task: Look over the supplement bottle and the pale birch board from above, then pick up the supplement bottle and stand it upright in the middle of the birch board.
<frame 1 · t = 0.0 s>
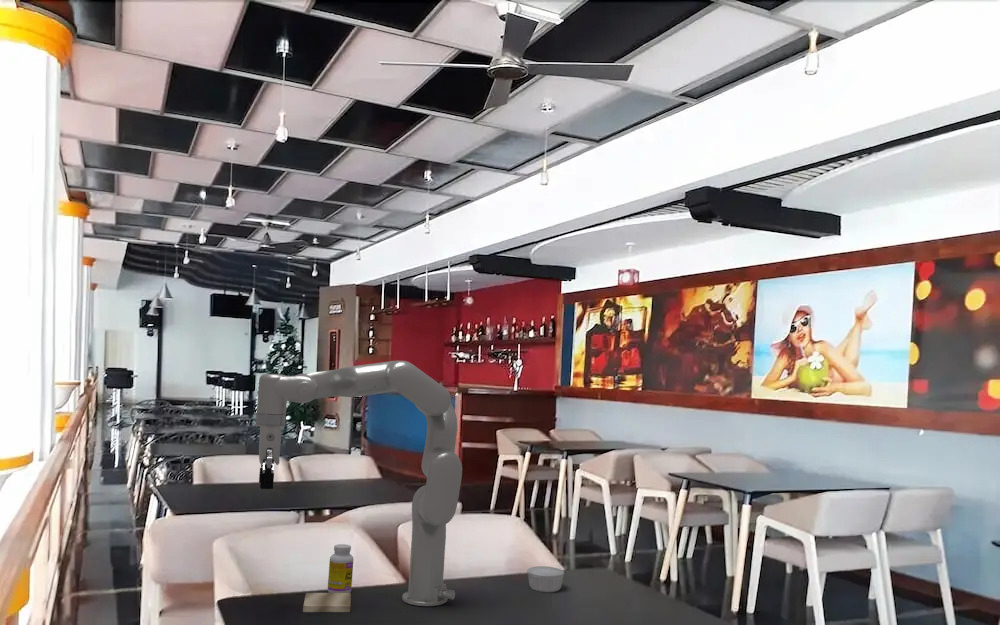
hand: (265, 485, 210), 31 cm above the table, tool pointing down, fingers open, 9 cm apart
ramekin: (544, 589, 241), on the table
supplement bottle: (339, 592, 225), on the table
birch board: (327, 605, 212), on the table
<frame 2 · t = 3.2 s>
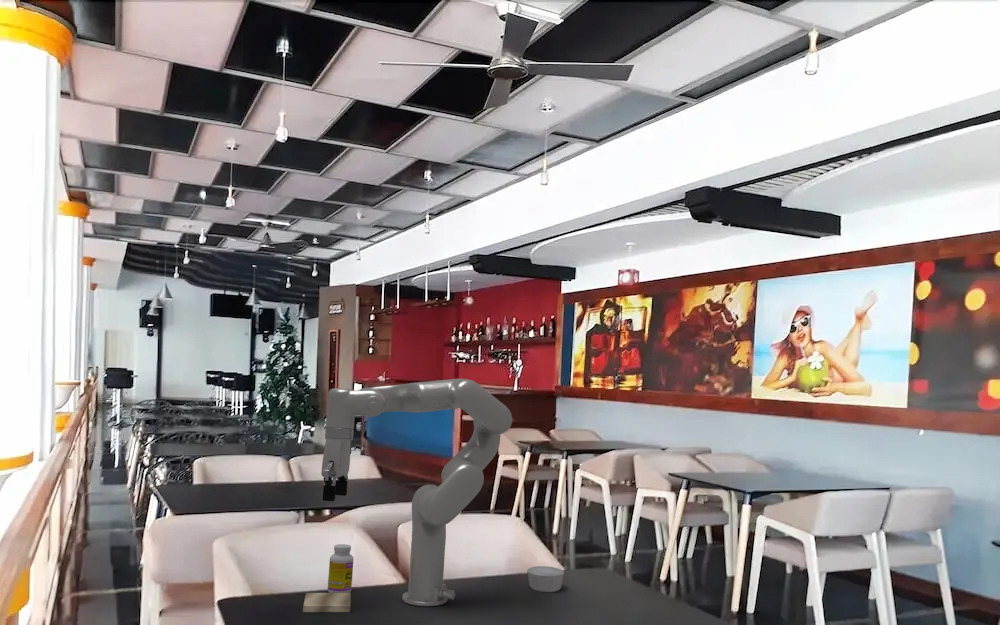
hand: (334, 497, 214), 28 cm above the table, tool pointing down, fingers open, 9 cm apart
nothing on the table moved.
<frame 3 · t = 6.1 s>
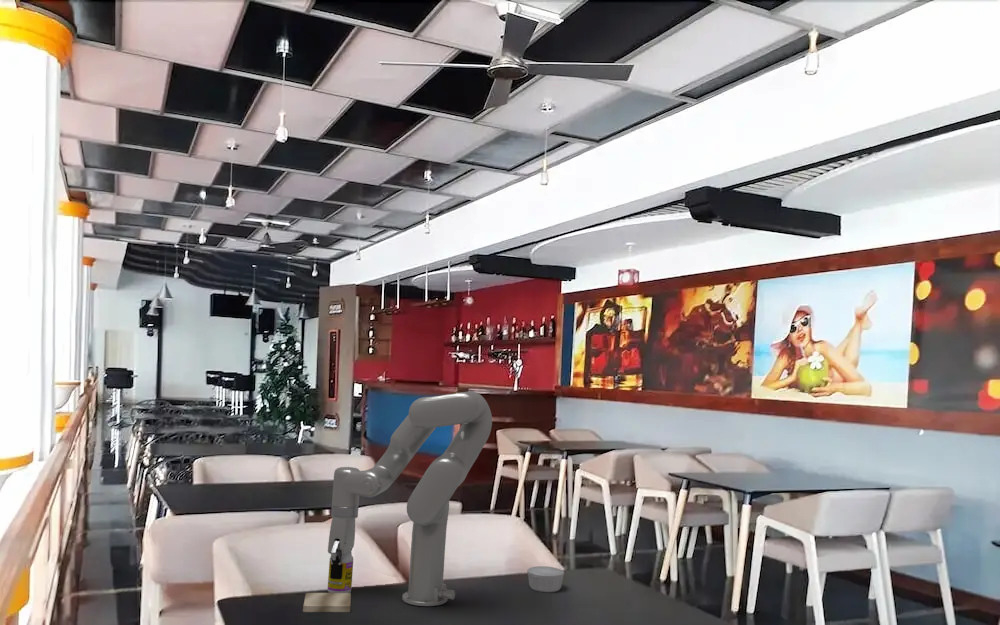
hand: (340, 574, 225), 5 cm above the table, tool pointing down, fingers closed on supplement bottle, 6 cm apart
supplement bottle: (339, 592, 225), on the table, touching gripper
everything else where it was.
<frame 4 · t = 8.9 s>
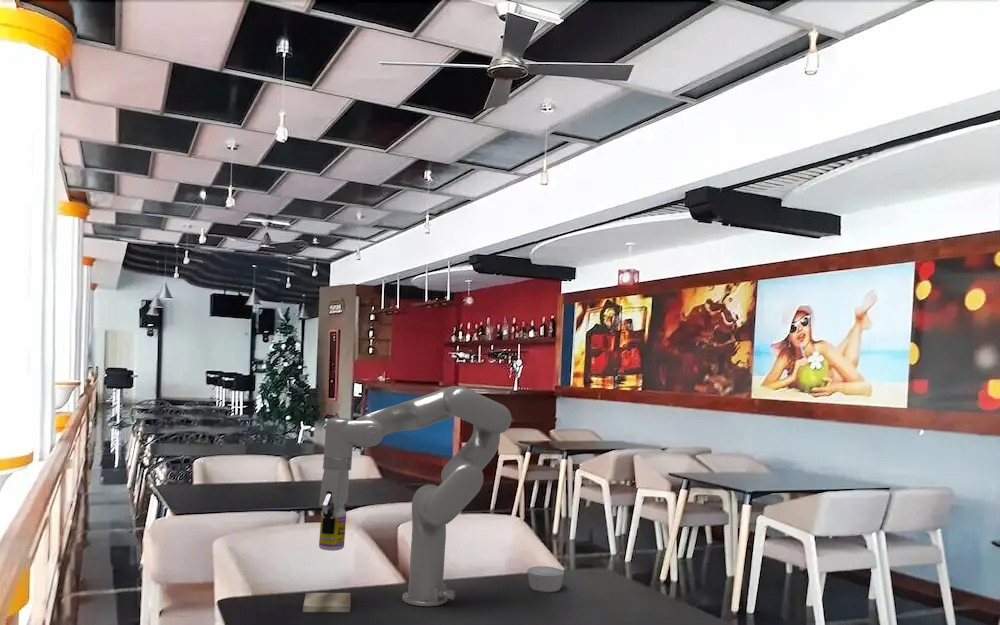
hand: (332, 530, 214), 20 cm above the table, tool pointing down, fingers closed on supplement bottle, 6 cm apart
supplement bottle: (331, 549, 214), point 15 cm above the table, touching gripper
everything else where it was.
when the fingers open (7 cm above the table, at t = 11.8 s): supplement bottle stays where it is, resting on birch board.
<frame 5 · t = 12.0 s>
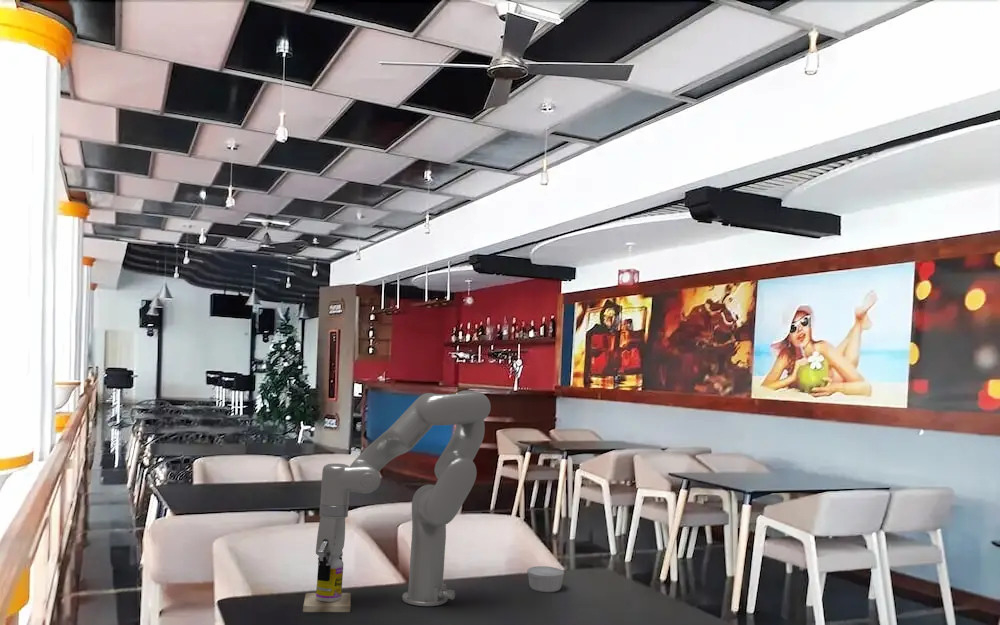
hand: (329, 575, 213), 8 cm above the table, tool pointing down, fingers open, 8 cm apart
supplement bottle: (328, 599, 213), point 1 cm above the table, touching birch board
everything else where it was.
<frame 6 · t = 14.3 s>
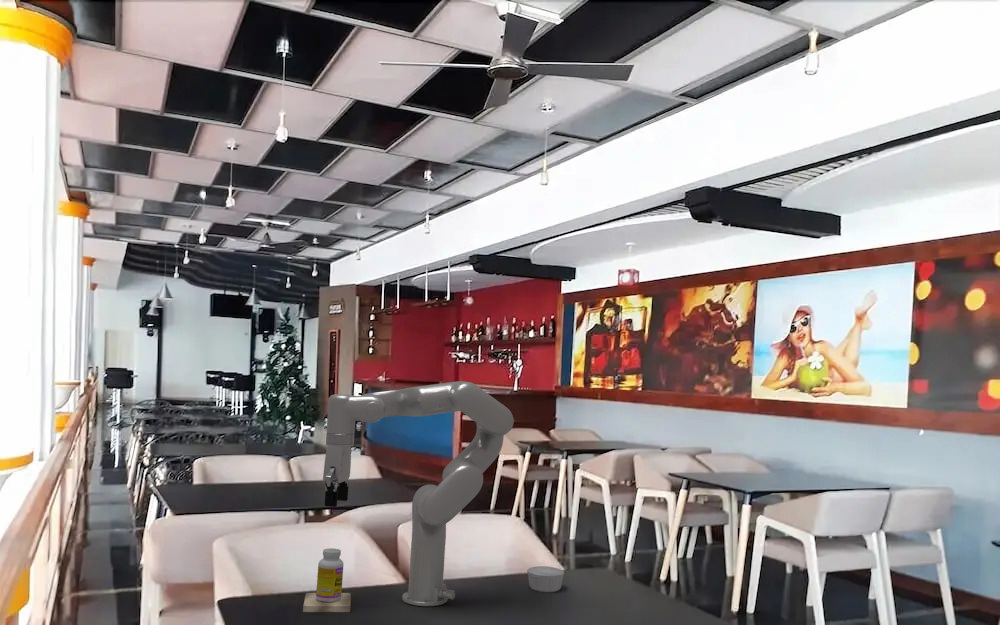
hand: (336, 503, 216), 27 cm above the table, tool pointing down, fingers open, 9 cm apart
nothing on the table moved.
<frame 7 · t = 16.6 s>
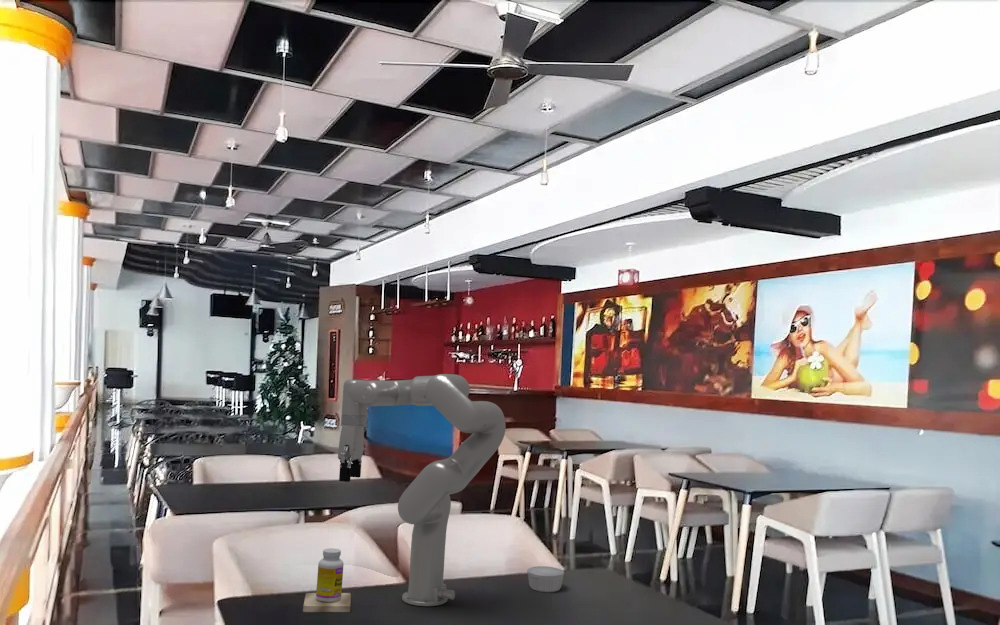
hand: (349, 479, 236), 30 cm above the table, tool pointing down, fingers open, 9 cm apart
nothing on the table moved.
at the end: supplement bottle inside the target area on the birch board (0.2 cm from its centre), point 1.3 cm above the birch board's base; supplement bottle tilted 0°; the gripper is holding nothing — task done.
